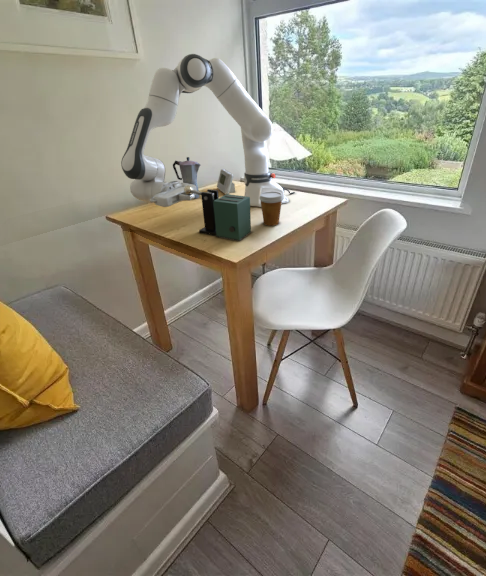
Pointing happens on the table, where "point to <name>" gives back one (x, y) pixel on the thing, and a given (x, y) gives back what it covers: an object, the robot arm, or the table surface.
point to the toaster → (232, 217)
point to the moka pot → (188, 172)
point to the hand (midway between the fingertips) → (192, 197)
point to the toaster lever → (194, 191)
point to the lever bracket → (209, 212)
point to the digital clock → (226, 182)
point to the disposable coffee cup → (271, 207)
